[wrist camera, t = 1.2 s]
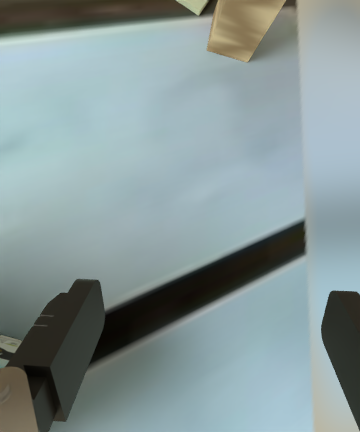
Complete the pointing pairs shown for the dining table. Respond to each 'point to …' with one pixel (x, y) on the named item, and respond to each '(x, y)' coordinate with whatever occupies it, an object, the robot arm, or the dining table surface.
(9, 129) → the dining table surface
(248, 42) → the beech block
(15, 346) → the tea box
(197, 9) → the felt mat
